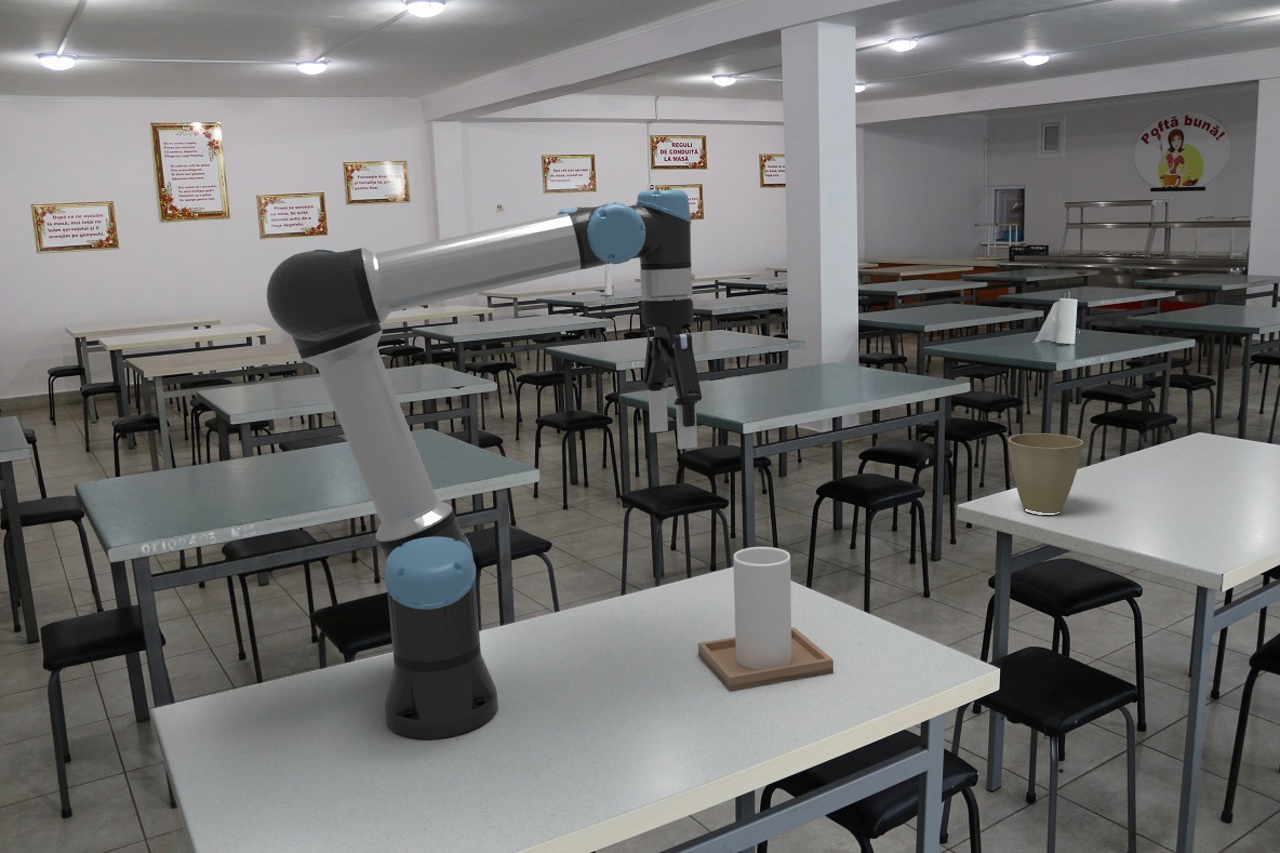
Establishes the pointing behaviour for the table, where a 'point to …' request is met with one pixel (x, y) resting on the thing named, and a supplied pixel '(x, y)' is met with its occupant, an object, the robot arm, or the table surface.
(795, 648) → the tray
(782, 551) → the cup
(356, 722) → the table surface
